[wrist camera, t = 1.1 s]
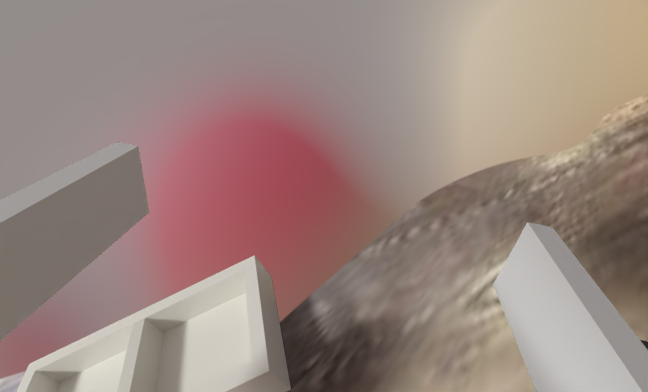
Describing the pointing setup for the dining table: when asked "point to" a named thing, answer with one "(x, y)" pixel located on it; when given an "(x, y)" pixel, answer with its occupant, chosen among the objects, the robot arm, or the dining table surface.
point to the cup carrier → (180, 344)
